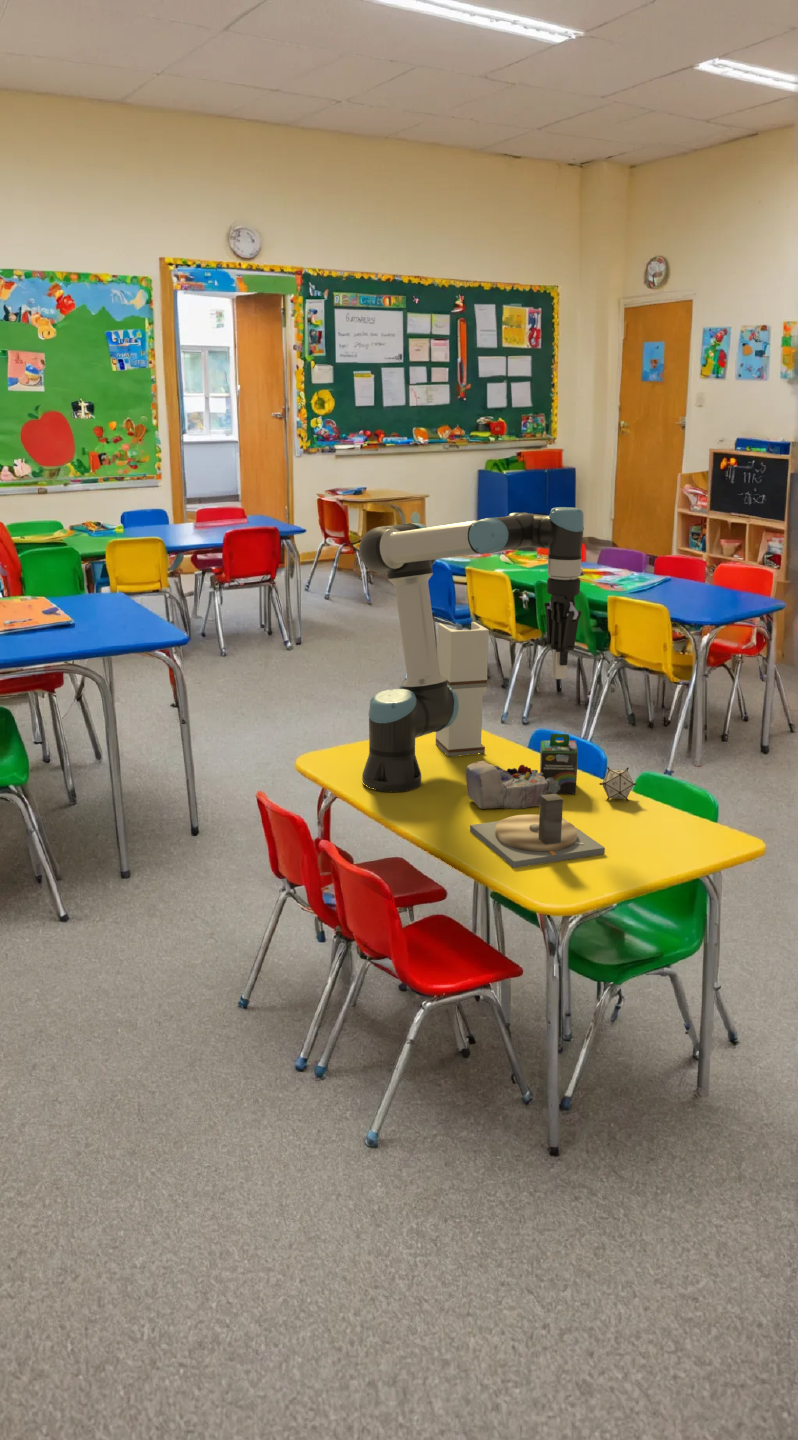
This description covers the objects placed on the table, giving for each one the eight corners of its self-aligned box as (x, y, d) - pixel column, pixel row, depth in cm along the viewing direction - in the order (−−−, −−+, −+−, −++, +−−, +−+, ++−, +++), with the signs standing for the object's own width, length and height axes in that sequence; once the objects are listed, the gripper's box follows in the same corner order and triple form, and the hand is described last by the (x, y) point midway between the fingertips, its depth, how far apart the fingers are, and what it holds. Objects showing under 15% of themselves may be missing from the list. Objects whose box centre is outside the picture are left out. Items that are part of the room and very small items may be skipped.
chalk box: (574, 783, 287) (577, 728, 283) (576, 795, 279) (579, 738, 275) (538, 781, 288) (541, 726, 284) (539, 793, 280) (541, 737, 275)
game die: (620, 816, 275) (626, 794, 267) (590, 798, 279) (595, 776, 271) (638, 791, 280) (645, 769, 272) (609, 774, 283) (615, 751, 275)
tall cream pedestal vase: (484, 753, 310) (488, 629, 300) (448, 756, 307) (451, 631, 298) (470, 742, 321) (474, 621, 311) (435, 744, 318) (437, 623, 308)
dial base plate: (469, 831, 255) (470, 824, 254) (555, 819, 263) (555, 812, 262) (513, 868, 235) (513, 860, 235) (604, 854, 243) (604, 846, 242)
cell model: (460, 757, 272) (533, 750, 280) (458, 799, 275) (530, 791, 283) (484, 773, 261) (559, 765, 268) (482, 816, 264) (556, 808, 271)
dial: (483, 825, 254) (484, 777, 251) (555, 817, 259) (558, 770, 256) (514, 855, 238) (516, 804, 234) (591, 846, 243) (594, 796, 240)
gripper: (594, 580, 249) (588, 683, 256) (563, 571, 262) (558, 669, 268) (564, 582, 247) (559, 685, 253) (534, 573, 259) (530, 672, 266)
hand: (558, 677), depth 261 cm, fingers closed
